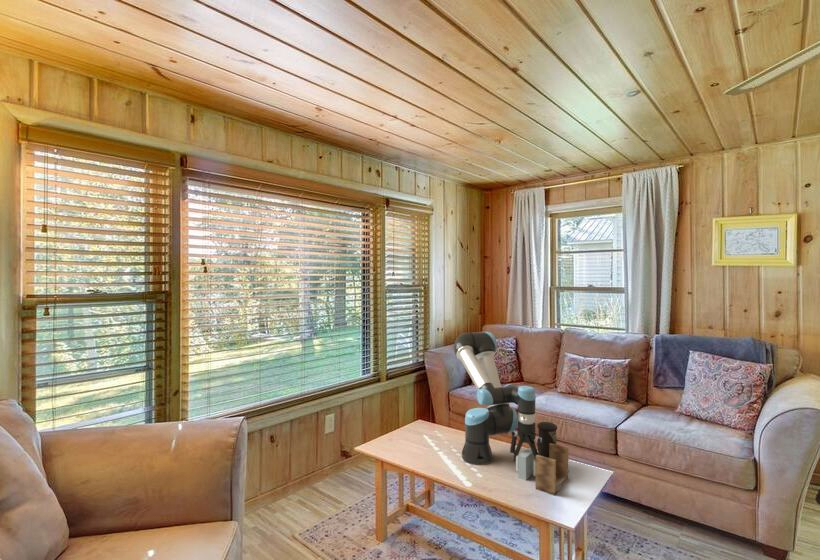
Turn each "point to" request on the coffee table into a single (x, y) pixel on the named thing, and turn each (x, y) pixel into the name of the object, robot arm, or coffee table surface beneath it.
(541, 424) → the container
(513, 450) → the robot arm
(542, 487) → the brown cabinet body
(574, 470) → the coffee table surface
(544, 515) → the coffee table surface
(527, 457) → the door slab
